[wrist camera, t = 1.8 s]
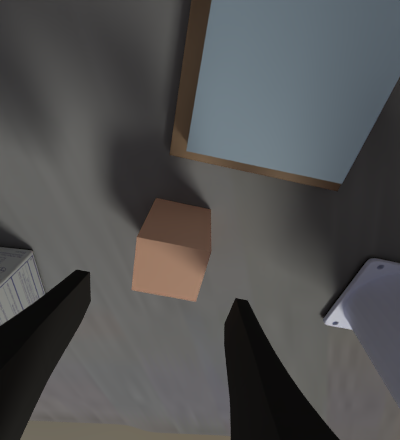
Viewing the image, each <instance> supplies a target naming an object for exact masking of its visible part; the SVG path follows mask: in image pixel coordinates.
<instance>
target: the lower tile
mask: <svg viewBox="0 0 400 440" xmlns="http://www.w3.org/2000/svg"><path fill="white" fill-rule="evenodd" d="M211 1H212V0H191V7H190V14H189V21H188V28H187V35H186V43H185V50H184V57H183V64H182V71H181V78H180V85H179V92H178V99H177V106H176V113H175V120H174V127H173V134H172V141H171V148H170V155H173V156H177V157H182V158H186V159H191V160H196V161H200V162H205V163H209V164H214V165H219V166H223V167H228V168H232V169H237V170H242V171H246V172H251V173H256V174H260V175H265V176H269V177H274V178H279V179H283V180H288V181H292V182H297V183H302V184H306V185H311V186H315V187H320V188H325V189H329V190H334V191H338V189H339V187H340V186H341V184H340V183H335V182H331V181H326V180H321V179H316V178H312V177H307V176H302V175H297V174H293V173H288V172H283V171H278V170H274V169H269V168H264V167H259V166H255V165H250V164H245V163H240V162H236V161H231V160H226V159H221V158H217V157H212V156H207V155H202V154H198V153H193V152H188V151H186V150H187V144H188V138H189V132H190V126H191V120H192V114H193V108H194V102H195V96H196V90H197V84H198V78H199V72H200V66H201V61H202V55H203V49H204V43H205V37H206V31H207V25H208V19H209V13H210V7H211ZM399 78H400V77H399ZM398 80H399V79H398ZM397 82H398V81H397ZM396 84H397V83H396ZM395 86H396V85H395ZM393 89H394V88H393ZM392 91H393V90H392ZM391 93H392V92H391ZM390 95H391V94H390ZM386 102H387V101H386ZM385 104H386V103H385ZM384 106H385V105H384ZM379 115H380V114H379Z"/></svg>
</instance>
